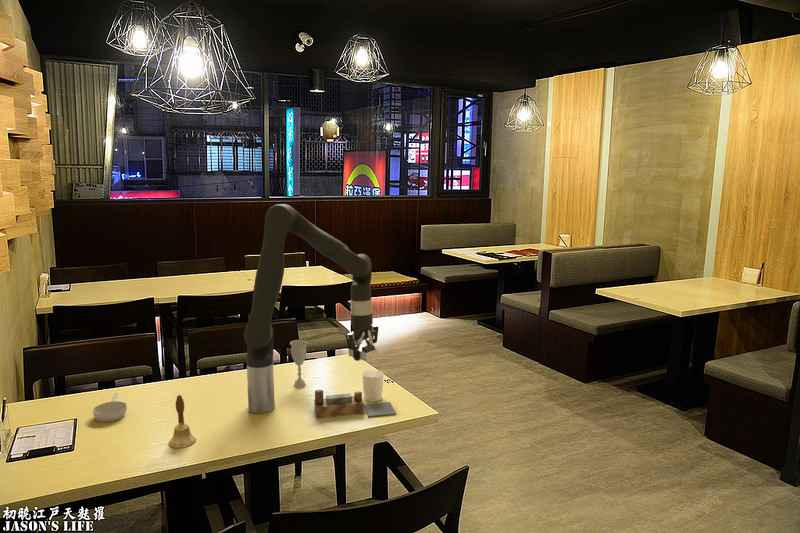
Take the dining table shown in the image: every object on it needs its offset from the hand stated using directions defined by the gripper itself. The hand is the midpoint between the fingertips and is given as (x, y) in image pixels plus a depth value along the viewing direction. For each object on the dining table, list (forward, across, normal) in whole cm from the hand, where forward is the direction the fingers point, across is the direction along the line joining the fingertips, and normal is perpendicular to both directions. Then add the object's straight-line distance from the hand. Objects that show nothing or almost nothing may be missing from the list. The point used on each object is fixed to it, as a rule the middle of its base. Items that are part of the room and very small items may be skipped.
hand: (363, 357), depth 206 cm
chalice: (+20, +1, -37) cm, 42 cm away
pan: (+18, +63, -65) cm, 92 cm away
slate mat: (+21, -4, +3) cm, 21 cm away
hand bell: (+19, +56, -26) cm, 65 cm away
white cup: (+21, -10, -7) cm, 24 cm away
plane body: (+20, +6, -7) cm, 22 cm away
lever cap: (-1, 0, 0) cm, 1 cm away
